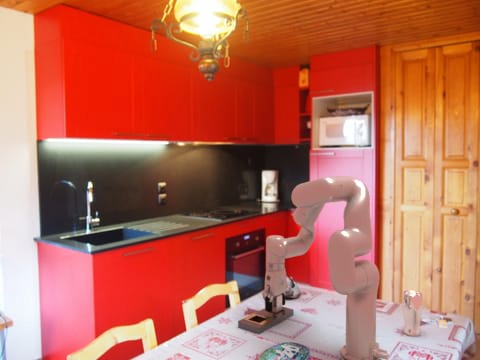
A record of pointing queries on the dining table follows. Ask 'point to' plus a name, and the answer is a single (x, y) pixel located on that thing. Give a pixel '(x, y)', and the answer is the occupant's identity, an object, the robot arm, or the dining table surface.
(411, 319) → the beer glass
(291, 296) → the lucky cat figurine
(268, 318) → the hole rail
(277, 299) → the steel peg
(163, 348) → the dining table surface
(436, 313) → the dining table surface
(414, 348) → the dining table surface
